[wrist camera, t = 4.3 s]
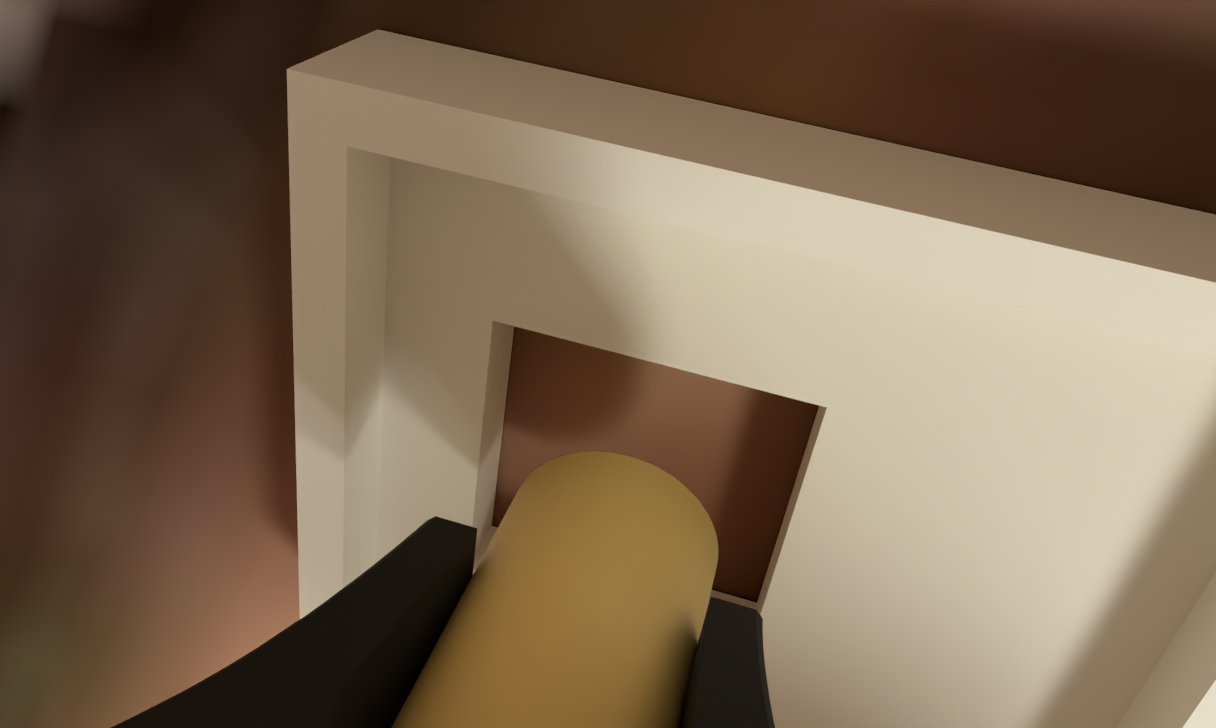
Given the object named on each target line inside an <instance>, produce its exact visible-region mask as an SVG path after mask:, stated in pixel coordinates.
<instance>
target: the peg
mask: <svg viewBox="0 0 1216 728" xmlns="http://www.w3.org/2000/svg"><path fill="white" fill-rule="evenodd" d="M718 551H719V548H718V541H717V535H716V532H715V529H714V526H713V523H712V521H711V519H710V517H709V515H708V513H707V512H706V510H705V509H704V507H703V506H702V504H701V503H700V502H699V500H698V499H697V498H696V497H695V496H694V494H693V493H692V492H691V491H690V490H689V489H687V488H686V487H685V486H684V485H683V484H682V483H681V482H679V481H678V480H677V479H675V478H674V477H673V476H671V475H670V474H668V473H667V472H665V471H663V470H662V469H660V468H658V467H656V466H654V465H652V464H650V463H647V462H645V461H643V460H640V459H637V458H634V457H631V456H627V455H623V454H618V453H612V452H603V451H585V452H576V453H571V454H567V455H562V456H560V457H557V458H554V459H552V460H550V461H548V462H546V463H544V464H542V465H541V466H539V467H538V468H537V469H535V470H534V471H533V472H532V473H531V474H530V475H529V476H528V477H527V478H526V479H525V480H524V482H523V483H522V485H521V486H520V488H519V490H518V491H517V493H516V495H515V497H514V499H513V501H512V503H511V505H510V506H509V508H508V510H507V512H506V514H505V516H504V518H503V520H502V521H501V523H500V525H499V527H498V529H497V531H496V533H495V534H494V536H493V538H492V540H491V542H490V544H489V546H488V548H487V549H486V551H485V553H484V555H483V557H482V559H481V561H480V563H479V564H478V566H477V568H476V570H475V572H474V574H473V576H472V578H471V579H470V581H469V583H468V585H467V587H466V589H465V591H464V593H463V594H462V596H461V598H460V600H459V602H458V604H457V606H456V608H455V609H454V611H453V613H452V615H451V617H450V619H449V621H448V622H447V624H446V626H445V628H444V630H443V632H442V634H441V636H440V637H439V639H438V641H437V643H436V645H435V647H434V649H433V651H432V652H431V654H430V656H429V658H428V660H427V662H426V664H425V666H424V667H423V669H422V671H421V673H420V675H419V677H418V679H417V681H416V682H415V684H414V686H413V688H412V690H411V692H410V694H409V696H408V697H407V699H406V701H405V703H404V705H403V707H402V709H401V710H400V712H399V714H398V716H397V718H396V720H395V722H394V724H393V725H392V727H391V728H679V725H680V720H681V714H682V708H683V703H684V699H685V695H686V691H687V686H688V682H689V678H690V674H691V669H692V665H693V661H694V657H695V652H696V648H697V644H698V640H699V637H700V633H701V630H702V626H703V623H704V619H705V615H706V611H707V606H708V602H709V598H710V594H711V589H712V585H713V581H714V576H715V572H716V568H717V563H718Z"/></svg>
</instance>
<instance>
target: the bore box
mask: <svg viewBox="0 0 1216 728" xmlns="http://www.w3.org/2000/svg"><path fill="white" fill-rule="evenodd" d="M287 102H288V144H289V186H290V228H291V270H292V312H293V354H294V396H295V438H296V480H297V522H298V564H299V606H300V619H301V618H303V617H304V616H306V615H307V614H309V613H310V612H312V611H313V610H314V609H316V608H317V607H319V606H320V605H321V604H323V603H324V602H325V601H327V600H328V599H329V598H331V597H332V596H333V595H335V594H336V593H337V592H339V591H340V590H341V589H343V588H344V587H345V586H347V585H348V584H349V583H351V582H352V581H353V580H355V579H356V578H357V577H359V576H360V575H361V574H363V573H364V572H365V571H366V570H368V569H369V568H370V567H371V566H373V565H374V564H375V563H376V562H378V561H379V560H380V559H382V558H383V557H384V556H385V555H386V554H388V553H389V552H390V551H391V550H393V549H394V548H395V547H396V546H397V545H399V544H400V543H401V542H402V541H403V540H405V539H406V538H407V537H408V536H409V535H411V534H412V533H413V532H414V531H415V530H416V529H418V528H419V527H420V526H421V525H422V524H424V523H425V522H426V521H427V520H429V519H431V518H433V517H435V516H437V517H440V518H443V519H447V520H450V521H454V522H457V523H461V524H464V525H468V526H471V527H474V528H477V537H476V547H475V557H474V567H473V574H474V572H475V570H476V568H477V566H478V564H479V563H480V561H481V559H482V557H483V555H484V553H485V551H486V549H487V548H488V546H489V544H490V542H491V540H492V538H493V536H494V534H495V533H496V531H497V529H498V527H494V526H492V520H493V511H494V503H495V494H496V485H497V476H498V467H499V458H500V449H501V440H502V431H503V423H504V414H505V405H506V396H507V387H508V378H509V369H510V360H511V351H512V343H513V334H514V326H515V327H519V328H523V329H527V330H531V331H534V332H538V333H542V334H546V335H550V336H554V337H557V338H561V339H565V340H569V341H573V342H577V343H581V344H584V345H588V346H592V347H596V348H600V349H604V350H607V351H611V352H615V353H619V354H623V355H627V356H631V357H634V358H638V359H642V360H646V361H650V362H654V363H657V364H661V365H665V366H669V367H673V368H677V369H680V370H684V371H688V372H692V373H696V374H700V375H704V376H707V377H711V378H715V379H719V380H723V381H727V382H730V383H734V384H738V385H742V386H746V387H750V388H754V389H757V390H761V391H765V392H769V393H773V394H777V395H780V396H784V397H788V398H792V399H796V400H800V401H803V402H807V403H811V404H815V405H819V408H818V411H817V414H816V417H815V420H814V424H813V427H812V430H811V433H810V436H809V439H808V443H807V446H806V449H805V452H804V455H803V459H802V462H801V465H800V468H799V471H798V474H797V478H796V481H795V484H794V487H793V490H792V493H791V497H790V500H789V503H788V506H787V509H786V512H785V516H784V519H783V522H782V525H781V528H780V531H779V535H778V538H777V541H776V544H775V547H774V550H773V554H772V557H771V560H770V563H769V566H768V569H767V573H766V576H765V579H764V582H763V585H762V588H761V592H760V595H759V598H758V601H757V603H756V602H752V601H749V600H746V599H742V598H739V597H735V596H732V595H728V594H725V593H721V592H718V591H715V590H711V594H710V598H711V597H715V598H718V599H722V600H725V601H729V602H732V603H735V604H739V605H742V606H746V607H749V608H753V609H756V610H757V611H758V612H759V614H760V615H761V617H762V618H763V649H764V661H765V669H766V677H767V684H768V691H769V698H770V704H771V709H772V715H773V720H774V725H775V728H1216V215H1215V214H1211V213H1206V212H1202V211H1197V210H1193V209H1188V208H1183V207H1179V206H1174V205H1170V204H1165V203H1161V202H1156V201H1152V200H1147V199H1143V198H1138V197H1134V196H1129V195H1125V194H1120V193H1116V192H1111V191H1107V190H1102V189H1098V188H1093V187H1088V186H1084V185H1079V184H1075V183H1070V182H1066V181H1061V180H1057V179H1052V178H1048V177H1043V176H1039V175H1034V174H1030V173H1025V172H1021V171H1016V170H1012V169H1007V168H1003V167H998V166H994V165H989V164H984V163H980V162H975V161H971V160H966V159H962V158H957V157H953V156H948V155H944V154H939V153H935V152H930V151H926V150H921V149H917V148H912V147H908V146H903V145H899V144H894V143H889V142H885V141H880V140H876V139H871V138H867V137H862V136H858V135H853V134H849V133H844V132H840V131H835V130H831V129H826V128H822V127H817V126H813V125H808V124H804V123H799V122H795V121H790V120H785V119H781V118H776V117H772V116H767V115H763V114H758V113H754V112H749V111H745V110H740V109H736V108H731V107H727V106H722V105H718V104H713V103H709V102H704V101H700V100H695V99H690V98H686V97H681V96H677V95H672V94H668V93H663V92H659V91H654V90H650V89H645V88H641V87H636V86H632V85H627V84H623V83H618V82H614V81H609V80H605V79H600V78H596V77H591V76H586V75H582V74H577V73H573V72H568V71H564V70H559V69H555V68H550V67H546V66H541V65H537V64H532V63H528V62H523V61H519V60H514V59H510V58H505V57H501V56H496V55H491V54H487V53H482V52H478V51H473V50H469V49H464V48H460V47H455V46H451V45H446V44H442V43H437V42H433V41H428V40H424V39H419V38H415V37H410V36H406V35H401V34H397V33H392V32H387V31H383V30H378V29H377V30H375V31H373V32H370V33H368V34H366V35H364V36H361V37H359V38H357V39H354V40H352V41H350V42H347V43H345V44H343V45H340V46H338V47H336V48H334V49H331V50H329V51H327V52H324V53H322V54H320V55H317V56H315V57H313V58H311V59H308V60H306V61H304V62H301V63H299V64H297V65H294V66H292V67H290V68H288V69H287ZM710 598H709V601H710ZM708 605H709V602H708ZM707 608H708V606H707ZM706 612H707V611H706Z"/></svg>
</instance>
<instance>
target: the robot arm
mask: <svg viewBox="0 0 1216 728" xmlns="http://www.w3.org/2000/svg"><path fill="white" fill-rule="evenodd" d="M476 537H477V528H474V527H471V526H468V525H464V524H461V523H457V522H454V521H450V520H447V519H443V518H440V517H437V516H435V517H433V518H431V519H429V520H427V521H426V522H425V523H424V524H422V525H421V526H420V527H419V528H418V529H416V530H415V531H414V532H413V533H412V534H411V535H409V536H408V537H407V538H406V539H405V540H403V541H402V542H401V543H400V544H399V545H397V546H396V547H395V548H394V549H393V550H391V551H390V552H389V553H388V554H386V555H385V556H384V557H383V558H382V559H380V560H379V561H378V562H376V563H375V564H374V565H373V566H371V567H370V568H369V569H368V570H366V571H365V572H364V573H363V574H361V575H360V576H359V577H357V578H356V579H355V580H353V581H352V582H351V583H349V584H348V585H347V586H345V587H344V588H343V589H341V590H340V591H339V592H337V593H336V594H335V595H333V596H332V597H331V598H329V599H328V600H327V601H325V602H324V603H323V604H321V605H320V606H319V607H317V608H316V609H314V610H313V611H312V612H310V613H309V614H307V615H306V616H304V617H303V618H301V619H300V620H298V621H297V622H295V623H294V624H292V625H291V626H289V627H288V628H286V629H285V630H283V631H282V632H280V633H279V634H277V635H276V636H275V637H273V638H272V639H270V640H269V641H267V642H266V643H264V644H263V645H261V646H260V647H258V648H256V649H255V650H253V651H252V652H250V653H248V654H247V655H245V656H244V657H242V658H240V659H239V660H237V661H235V662H234V663H232V664H230V665H229V666H227V667H225V668H224V669H222V670H220V671H219V672H217V673H215V674H213V675H212V676H210V677H208V678H206V679H204V680H203V681H201V682H199V683H197V684H196V685H194V686H192V687H190V688H188V689H187V690H185V691H183V692H181V693H179V694H177V695H175V696H173V697H171V698H169V699H167V700H165V701H163V702H161V703H160V704H158V705H156V706H154V707H152V708H150V709H148V710H146V711H144V712H142V713H140V714H138V715H136V716H134V717H132V718H130V719H128V720H126V721H124V722H122V723H119V724H117V725H115V726H113V727H111V728H391V727H392V725H393V724H394V722H395V720H396V718H397V716H398V714H399V712H400V710H401V709H402V707H403V705H404V703H405V701H406V699H407V697H408V696H409V694H410V692H411V690H412V688H413V686H414V684H415V682H416V681H417V679H418V677H419V675H420V673H421V671H422V669H423V667H424V666H425V664H426V662H427V660H428V658H429V656H430V654H431V652H432V651H433V649H434V647H435V645H436V643H437V641H438V639H439V637H440V636H441V634H442V632H443V630H444V628H445V626H446V624H447V622H448V621H449V619H450V617H451V615H452V613H453V611H454V609H455V608H456V606H457V604H458V602H459V600H460V598H461V596H462V594H463V593H464V591H465V589H466V587H467V585H468V583H469V581H470V579H471V578H472V576H473V567H474V557H475V547H476ZM679 728H775V725H774V720H773V715H772V709H771V704H770V698H769V691H768V684H767V677H766V669H765V661H764V649H763V618H762V617H761V615H760V614H759V612H758V611H757V610H756V609H753V608H749V607H746V606H742V605H739V604H735V603H732V602H729V601H725V600H722V599H718V598H715V597H711V598H710V601H709V605H708V608H707V612H706V615H705V619H704V623H703V626H702V630H701V633H700V637H699V640H698V644H697V648H696V652H695V657H694V661H693V665H692V669H691V674H690V678H689V682H688V686H687V691H686V695H685V699H684V703H683V708H682V714H681V720H680V725H679Z"/></svg>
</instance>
